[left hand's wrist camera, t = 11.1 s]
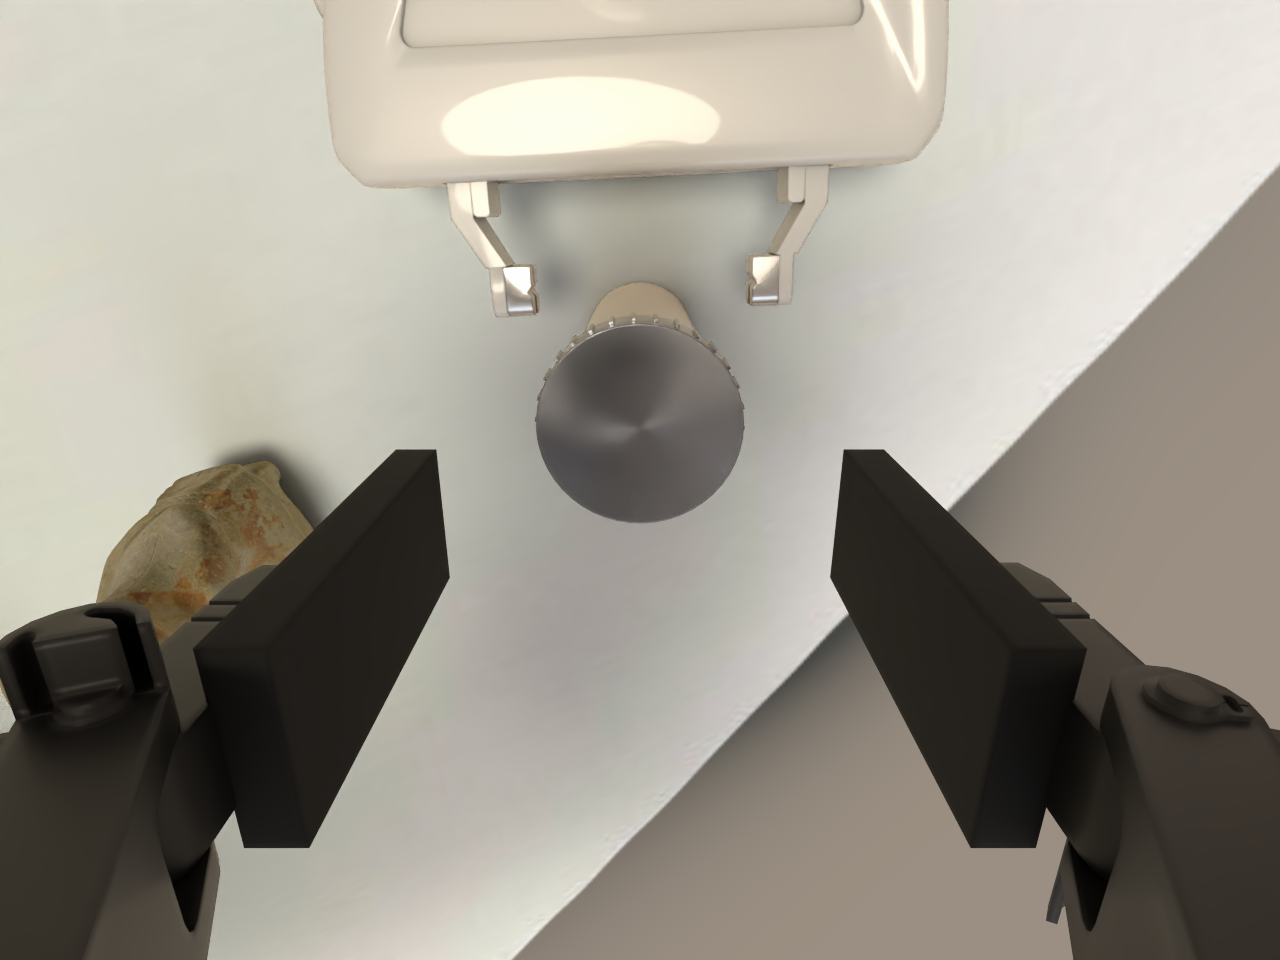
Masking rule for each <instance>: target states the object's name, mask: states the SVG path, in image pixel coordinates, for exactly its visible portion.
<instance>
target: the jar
mask: <svg viewBox="0 0 1280 960" xmlns="http://www.w3.org/2000/svg"><path fill="white" fill-rule="evenodd" d="M632 312H635V313H636V315H651V316H653V314H654V313H656V314H657V315H658V317H663V318H666V319H669V320H673V321H674V319H675V318H676V319H678V320H679V323H680V324H682V325H684V326H687V327H688V328H690V329H692V330H693V329H694V327H693V325H692V323H691V321H690V319H689V317H688V314H687V312H686V310H685V308H684V307H683V305H682V304H681V302H680V301H679V300H678V299H677V298H676V297H675V296H674V295H673V294H672V293H671V292H669V291H668V290H666V289H665V288H662V287H660V286H658V285H655V284H652V283H646V282H635V283H629V284H625V285H622V286H620V287H617V288H616V289H614V290H612V291H611V292H609V293H608V294H607V295H606V296H605V297H604V298H603V299H602V300H601V301H600V302H599V304H598V305H597V307H596V308H595V310H594V312H593V314H592V317H591V319H590V321H589V323H588V325H587V328H586V330H588V329H589V327H590V325H591V324H593V323H594V325H595V326H596V325H597V324H600V323H602V322H605V321H607V320H610V317H611V316H614V318H618V317H622V316H631V315H632ZM586 330H585V331H586Z"/></svg>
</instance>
